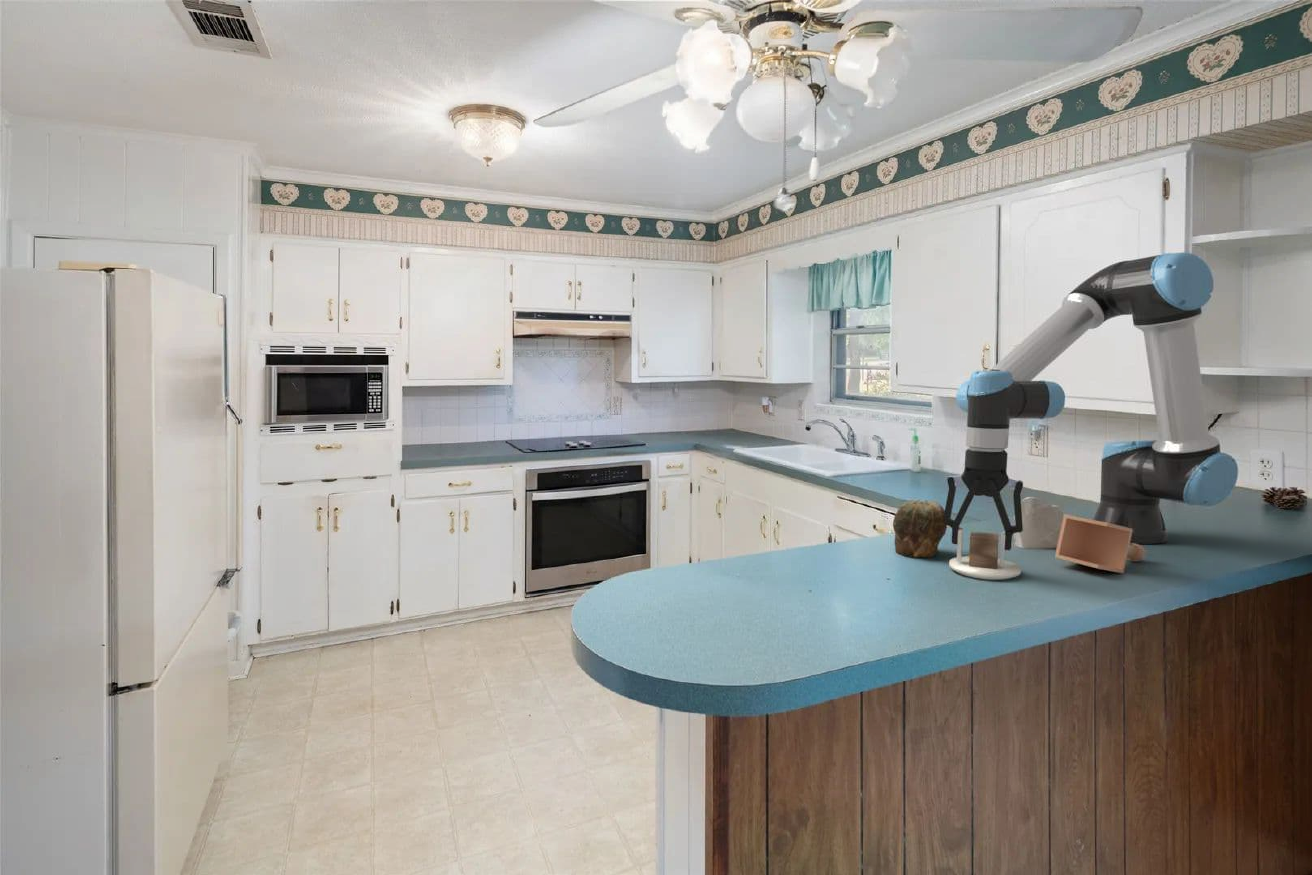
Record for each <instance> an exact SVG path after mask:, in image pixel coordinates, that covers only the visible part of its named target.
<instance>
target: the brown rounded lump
mask: <svg viewBox="0 0 1312 875" xmlns="http://www.w3.org/2000/svg"><path fill="white" fill-rule="evenodd" d="M944 512H945V508H944V507H943V506H942V505H941V504H940V503H938V502H937V501H932V500H930V501H929V500H924V501H922V500H919V499H916V500H914V499H913V500H908V501H905V502H903V503H901V505H900V506H899V507H898V509H897V512H895V515H894V517H893V523H892V526H893V532H894V550H895V551H894V552H895V553H897V554H899V555H902V556H904V557H909V558H933V557H934V556H936V554H937V553H938V549H939V548H938V547H939V544H940V542H941V540H942V538H943V537H944V536H945V535H946V531H947V529H948V525H944V524H943V518H944Z"/></svg>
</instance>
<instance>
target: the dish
mask: <svg viewBox="0 0 1312 875" xmlns="http://www.w3.org/2000/svg"><path fill="white" fill-rule="evenodd" d="M999 561H1000V558H998V564H997V569H988V568H979V567H970V566H969V555H966V556H965V555H964V556H962V559H961V562H957V556H956V557H953V558H950V559H949V561H948V562H949V563H948V565H949V568H950V569H951V570H952V571H954V572H956V573H958V574H960V575H962V576H966V577H968V578H974V579H979V580H980V579H981V580H990V581H1002V580H1004V581H1005V580H1010V579H1013V578H1015V577H1019V576H1020V575H1021V573H1022V567H1021V566H1020V565H1019V564H1017V563H1015V562H1012V561H1009V560H1006V559H1004V566H1003V567H999Z"/></svg>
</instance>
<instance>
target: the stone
mask: <svg viewBox="0 0 1312 875" xmlns="http://www.w3.org/2000/svg"><path fill="white" fill-rule="evenodd" d="M1021 510H1022V524H1023V531H1022V532H1020V533H1019V532H1018V533H1014V534H1013V539H1014V546H1016V547H1018V548H1021V549H1027V550H1028V549H1029V550H1032V549H1033V550H1034V549H1035V550H1038V549H1042V550H1043V549H1044V550H1045V549H1050V550H1051V549H1057V545H1058V540H1059V536H1060V531H1061V526H1062V522H1063V517H1064V513H1063V510H1062V509H1061V507H1060V505H1056V504H1051V502H1049V501H1047V500H1043V499H1040V498H1038V497H1035V496H1033V497H1032V496H1027V497H1024V498H1023V499H1022V500H1021ZM1013 516H1014V517H1013V522H1014V524H1013V526H1014V525H1016V524H1015V514H1014V515H1013Z"/></svg>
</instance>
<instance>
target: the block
mask: <svg viewBox="0 0 1312 875" xmlns="http://www.w3.org/2000/svg"><path fill="white" fill-rule="evenodd" d="M968 556H969V566H970V567H979V568H988V569H997V564H998V559H999V533H993V532H982V531H981V532H979V531H971V532H970V535H969V555H968Z"/></svg>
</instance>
